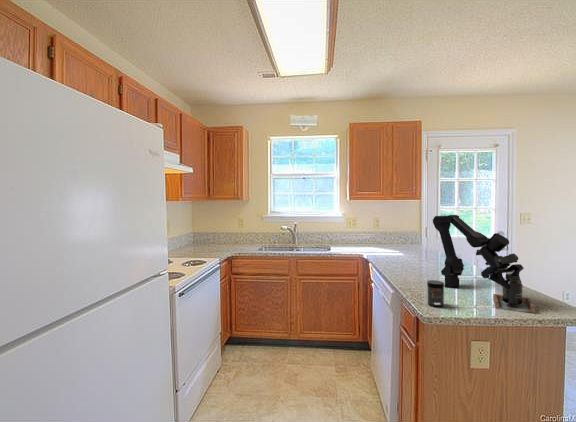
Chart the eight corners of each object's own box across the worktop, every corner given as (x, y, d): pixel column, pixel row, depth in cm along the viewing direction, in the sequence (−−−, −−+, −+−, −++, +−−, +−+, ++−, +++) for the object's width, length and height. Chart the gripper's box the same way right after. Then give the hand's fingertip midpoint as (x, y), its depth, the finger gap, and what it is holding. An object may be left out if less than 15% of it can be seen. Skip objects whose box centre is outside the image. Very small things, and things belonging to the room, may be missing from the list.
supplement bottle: (522, 306, 122) (522, 277, 122) (502, 303, 127) (502, 275, 126) (522, 301, 128) (522, 274, 127) (503, 298, 132) (502, 272, 132)
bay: (495, 308, 126) (495, 301, 126) (493, 300, 136) (493, 293, 136) (534, 313, 119) (534, 306, 119) (529, 304, 129) (529, 297, 129)
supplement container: (440, 302, 134) (440, 280, 134) (446, 308, 127) (446, 284, 127) (425, 302, 135) (424, 280, 134) (430, 307, 128) (430, 284, 128)
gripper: (487, 248, 128) (512, 280, 118) (519, 246, 133) (546, 276, 122) (471, 263, 136) (493, 293, 125) (502, 260, 141) (526, 289, 130)
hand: (515, 288), depth 126 cm, fingers closed on supplement bottle, 7 cm apart
